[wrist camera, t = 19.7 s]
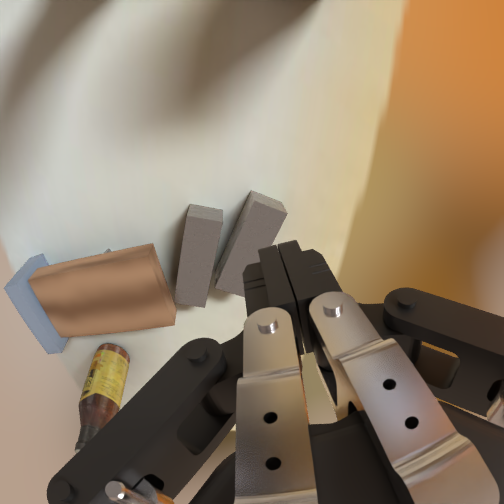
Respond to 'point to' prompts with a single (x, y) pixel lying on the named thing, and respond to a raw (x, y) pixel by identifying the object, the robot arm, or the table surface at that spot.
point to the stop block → (34, 306)
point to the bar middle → (198, 254)
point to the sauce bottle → (102, 391)
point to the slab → (105, 293)
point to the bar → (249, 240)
